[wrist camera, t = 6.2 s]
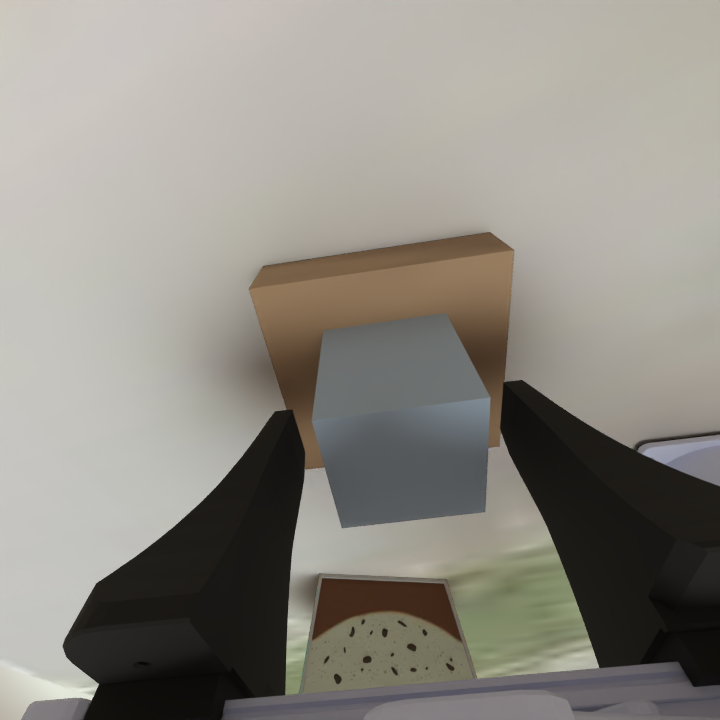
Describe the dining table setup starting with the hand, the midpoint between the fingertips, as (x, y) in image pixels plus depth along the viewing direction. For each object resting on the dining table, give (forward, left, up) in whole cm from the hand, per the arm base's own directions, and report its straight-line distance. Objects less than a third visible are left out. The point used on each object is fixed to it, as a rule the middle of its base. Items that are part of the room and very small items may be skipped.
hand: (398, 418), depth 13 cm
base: (0, 0, -5) cm, 5 cm away
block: (0, 0, -2) cm, 2 cm away
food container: (-22, +3, -5) cm, 23 cm away
